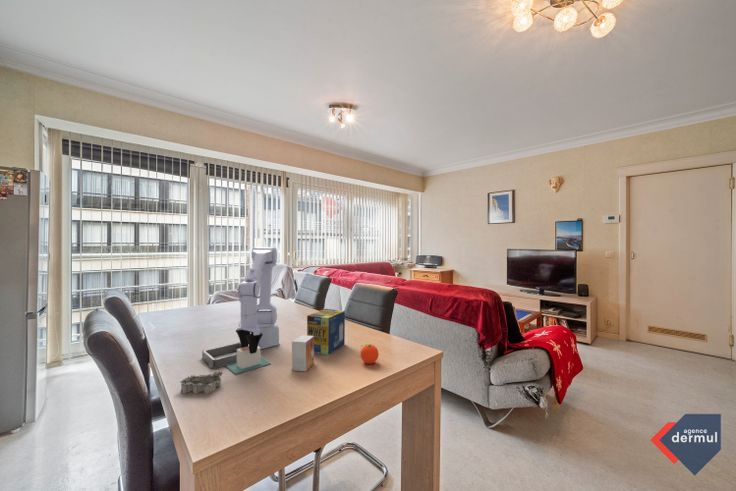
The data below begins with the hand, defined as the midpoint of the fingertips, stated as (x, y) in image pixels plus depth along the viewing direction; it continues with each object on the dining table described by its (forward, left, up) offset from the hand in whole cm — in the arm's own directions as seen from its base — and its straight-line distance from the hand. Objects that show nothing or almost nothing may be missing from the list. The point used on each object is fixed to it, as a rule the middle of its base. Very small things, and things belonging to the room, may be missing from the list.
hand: (248, 350), depth 110 cm
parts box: (0, 0, -5) cm, 5 cm away
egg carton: (+18, +7, -6) cm, 20 cm away
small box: (-14, +15, -6) cm, 21 cm away
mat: (0, 0, -6) cm, 6 cm away
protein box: (-32, +5, -6) cm, 33 cm away
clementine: (-34, +29, -6) cm, 45 cm away
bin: (+3, -13, -6) cm, 15 cm away
